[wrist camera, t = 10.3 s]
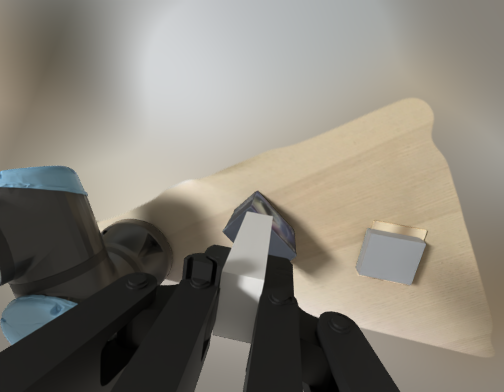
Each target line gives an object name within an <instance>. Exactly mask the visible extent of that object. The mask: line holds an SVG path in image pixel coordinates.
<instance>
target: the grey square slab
mask: <svg viewBox="0 0 504 392" xmlns="http://www.w3.org/2000/svg"><path fill="white" fill-rule="evenodd" d="M425 246H426V243H425V242H424V241H422V240H421V239H420V238H418V237H413V236H407V235H402V234H397V233H392V232H386V231H381V230H376V229H371V228H367V231H366V235H365V238H364V241H363V245H362V248H361V251H360V255H359V258H358V261H357V265H356V269H357V271H358V274H359V275H363V276H368V277H373V278H378V279H383V280H388V281H393V282H398V283H403V284H408V285H411V284H412V281H413V278H414V276H415V273H416V270H417V268H418V265H419V262H420V259H421V257H422V254H423V251H424V248H425Z"/></svg>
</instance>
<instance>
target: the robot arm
mask: <svg viewBox="0 0 504 392" xmlns="http://www.w3.org/2000/svg"><path fill="white" fill-rule="evenodd" d="M87 196H88V194H87V192H85V191H84V189H83V186H82V184H81V182H80V179H79V177H78V175H77V173H76V172H75V171H74V170H73V169H70V168H69V167H65V166H43V167H31V168H30V167H29V168H19V169H11V170H4V171H1V172H0V286H1V285H4V284H5V283H9V285H10V287H11V289H12V291H13V294H14V296H15V298H16V299H14V300H12V301H11V302H10V303H9V304H8V305H7V307H6V308H5V310H4V311H3V313H2V318H1V322H0V323H1V328H2V331H3V334H4V335H5V337H6V339H7V340H8V341H9V342H10V344H11V346H10V347H8V348H6V349H5V350H3V351H2V352H0V392H194V390H195V388H196V385H197V382H198V378H199V376H200V372H201V370H202V366H203V364H204V361H205V358H206V355H207V351H208V349H209V345H210V338H211V333H212V330H213V335H215V336H220V337H224V338H229V339H233V340H238V341H242V342H246V343H251V347H250V352H249V357H248V362H247V368H246V376H245V382H244V388H243V392H303V391H304V392H400V391H399V389H398V387H397V386H396V384H395V383H394V381H393V380H392V378H391V377H390V375H389V373H388V372H387V371H386V369H385V367H384V366H383V364H382V363H381V361H380V359H379V358H378V356H377V355H376V353H375V352H374V350H373V349H372V347H371V345H370V344H369V342H368V341H367V339H366V338H365V336H364V335H363V333H362V331H361V330H360V328H359V327H358V325H357V324H356V323H355V322H354V321H353V320H352V319H350V318H349V317H347V316H345V315H343V314H341V313H338V312H332V311H330V312H324V313H322V314H321V315H320V317H319V318H317V317H314V316H312V315H310V314H308V313H306V312H305V311H303V310H302V309H301V308H300V307H299V306H298V302H297V299H296V298H295V297H294V286H293V265H292V263H291V262H290V261H289V259H288V258H283V257H278V256H273V255H268V249H269V242H270V234H271V227H272V220H273V216H268V215H263V214H258V213H252V212H247V213H246V215H245V217H244V220H243V222H242V225H241V227H240V229H239V232H238V234H237V236H236V239H235V241H234V244H233V246H232V248H229V247H224V246H219V245H215V244H214V245H213V246H211V247H209V248H207V250H206V252H205V253H196V254H191V255H188V256H187V257H186V258H184V266H183V275H182V280H181V282H180V283H179V284H176V285H160V284H161V283H162V282H163V281H164V279H165V278H166V277H167V275H168V274H169V272H170V270H171V266H172V252H171V249H170V246H169V244H168V242H167V240H166V238H165V237H164V236H163V234H162V233H161V232H160V231H159V230H157V229H156V228H155V227H154V226H152V225H150V224H148V223H146V222H144V221H141V220H136V219H124V220H120V221H117V222H115V223H113V224H112V225H110V226H108V227H107V228H105V229H104V230H103V231H102V232H101V233H100V230H99V228H98V225H97V222H96V219H95V217H94V214H93V211H92V209H91V206H90V203H89V200H88V198H87ZM213 327H214V328H213Z"/></svg>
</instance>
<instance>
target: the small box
mask: <svg viewBox="0 0 504 392" xmlns="http://www.w3.org/2000/svg"><path fill="white" fill-rule="evenodd" d="M247 212H252V213H258V214H263V215H268V216H273V220H272V227H271V234H270V242H269V249H268V255H273V256H278V257H283V258H288V259H289V261H291V260H292V259H294V258H295V257H296V256H297V254H296V245H295V233H294V230H293V228H292V227H291V226H290V225H289V224H288V223H287V222H286V221H285V220H284V219H283V218H282V217H281V216H280V214H279V213H278V212H277V211H276V210H275V209H274V208H273V207H272V206H271V205H270V204H269V203H268V201H267V200H266V199H265V198H264V197H263V196H262V195H261V194H260V193H259V192H258V191H256V192H255V193H253V194H252V195H251V196H250V197H249V198H248V199H247V200H245V201H244V202H243V203H242V204H241V205H240V206H239V207H237V208H236V209H235V210H234V213H233V215H232V216H231V218H230V220H229V221H228V223H227V225H226V227H225V229H224V230H223V233H224V234H225V235H226V236H227V237H228V238H229V239H230V240H231V241H232V242H233V243H234V241H235V239H236V236H237V234H238V232H239V229H240V227H241V225H242V222H243V220H244V217H245V215H246V213H247Z"/></svg>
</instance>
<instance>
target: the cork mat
mask: <svg viewBox="0 0 504 392" xmlns="http://www.w3.org/2000/svg"><path fill="white" fill-rule="evenodd" d="M371 229H376V230H381V231H386V232H392V233H397V234H402V235H407V236H413V237H418V238H420V239H421V240H422V241H424V238H425V235H426V232H427V230H424V229H419V228H414V227H408V226H403V225H398V224H392V223H387V222H382V221H376V220H374V222H373V225H372V228H371ZM358 275H359V274H358ZM359 276H363V275H359ZM364 277H368V276H364ZM369 278H373V277H369ZM374 279H378V278H374ZM379 280H383V279H379ZM384 281H388V280H384ZM389 282H393V281H389ZM394 283H398V282H394ZM399 284H403V283H399ZM404 285H408V284H404Z"/></svg>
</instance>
